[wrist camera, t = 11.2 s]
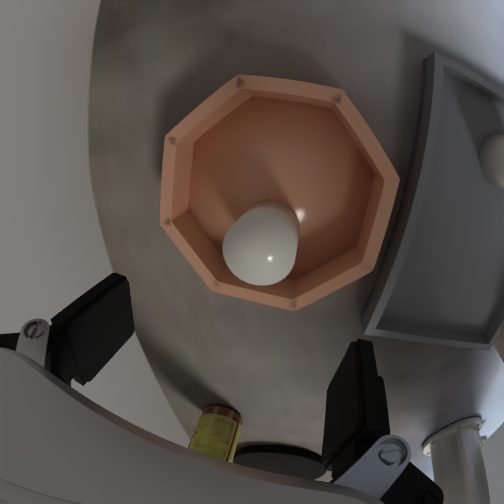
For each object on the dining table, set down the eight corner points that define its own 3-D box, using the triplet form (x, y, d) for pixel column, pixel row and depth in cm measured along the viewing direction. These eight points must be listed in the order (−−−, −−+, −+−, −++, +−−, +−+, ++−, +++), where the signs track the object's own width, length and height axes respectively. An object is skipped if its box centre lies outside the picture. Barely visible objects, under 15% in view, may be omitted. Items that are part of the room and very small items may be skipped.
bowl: (395, 115, 16) (412, 110, 13) (348, 296, 23) (352, 323, 20) (196, 83, 19) (173, 74, 15) (180, 257, 25) (160, 276, 22)
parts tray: (546, 137, 11) (560, 140, 9) (481, 336, 21) (489, 350, 19) (423, 59, 14) (435, 51, 11) (360, 317, 24) (363, 334, 21)
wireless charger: (321, 441, 34) (320, 451, 33) (330, 473, 40) (329, 481, 38) (222, 440, 40) (218, 449, 38) (251, 473, 45) (249, 480, 44)
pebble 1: (305, 206, 20) (302, 225, 15) (293, 260, 22) (287, 292, 17) (246, 194, 21) (226, 210, 16) (238, 248, 23) (219, 276, 18)
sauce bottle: (196, 403, 35) (144, 512, 17) (231, 401, 33) (182, 526, 15) (219, 426, 37) (178, 527, 19) (252, 425, 35) (216, 537, 17)
